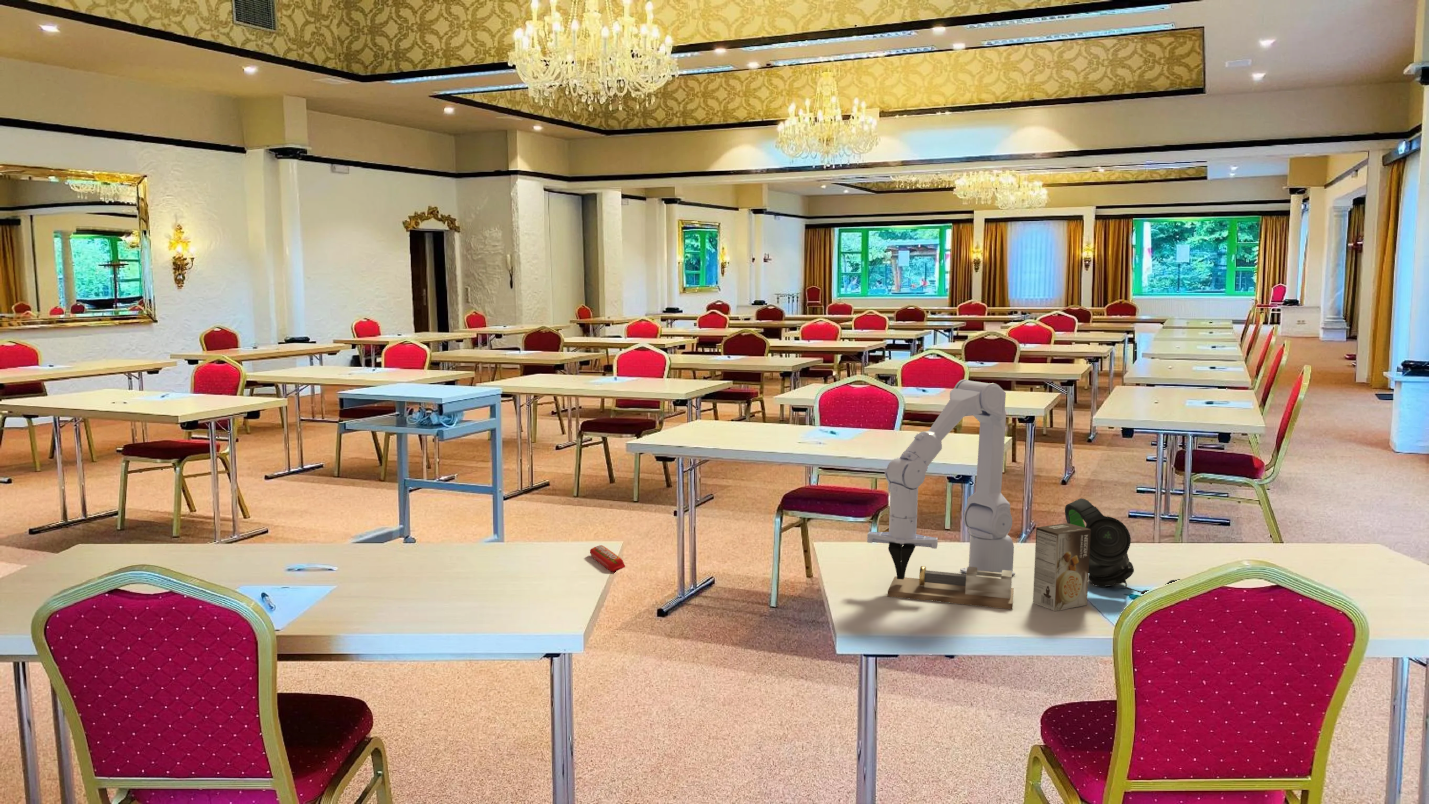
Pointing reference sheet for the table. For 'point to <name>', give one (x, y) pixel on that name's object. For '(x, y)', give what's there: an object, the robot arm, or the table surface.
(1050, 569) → the coffee box
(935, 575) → the shaft
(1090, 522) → the headset
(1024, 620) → the table surface
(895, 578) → the board
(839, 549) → the table surface
